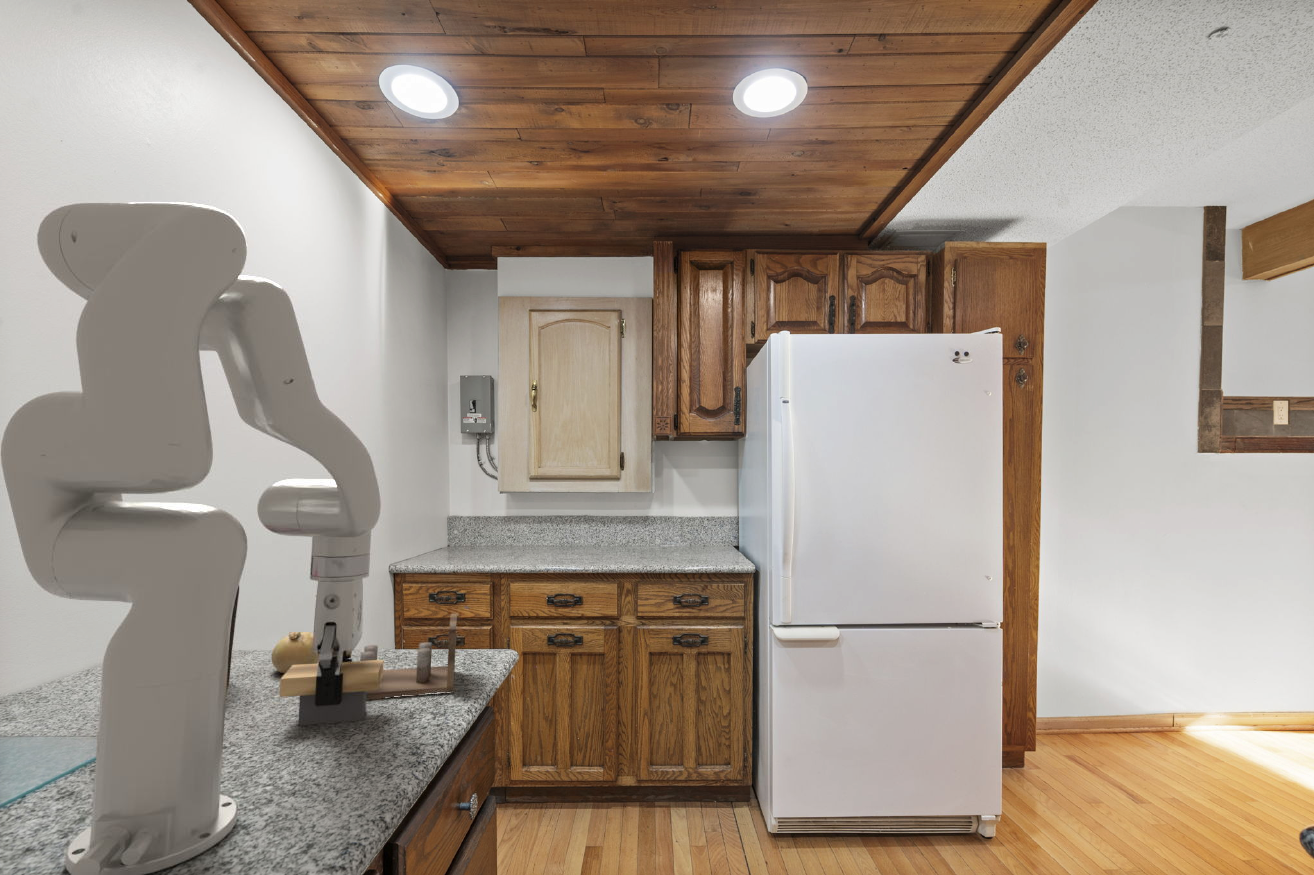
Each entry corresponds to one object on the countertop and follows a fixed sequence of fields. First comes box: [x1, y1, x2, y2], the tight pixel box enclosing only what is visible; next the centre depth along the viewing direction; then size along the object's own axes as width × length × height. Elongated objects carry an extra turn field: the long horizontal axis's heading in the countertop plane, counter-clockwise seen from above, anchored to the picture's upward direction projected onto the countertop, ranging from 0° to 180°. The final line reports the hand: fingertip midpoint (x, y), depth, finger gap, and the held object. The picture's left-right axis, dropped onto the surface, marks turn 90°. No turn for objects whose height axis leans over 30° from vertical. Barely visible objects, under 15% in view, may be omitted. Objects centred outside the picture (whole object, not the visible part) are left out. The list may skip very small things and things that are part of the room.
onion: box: [270, 631, 319, 674], centre depth 107 cm, size 8×8×7 cm
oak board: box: [279, 659, 384, 698], centre depth 87 cm, size 6×12×2 cm, turn 107°
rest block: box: [297, 691, 367, 727], centre depth 87 cm, size 3×8×4 cm, turn 107°
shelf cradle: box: [348, 613, 458, 701], centre depth 101 cm, size 11×18×10 cm, turn 107°
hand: (333, 694), depth 87 cm, fingers closed on oak board, 6 cm apart
